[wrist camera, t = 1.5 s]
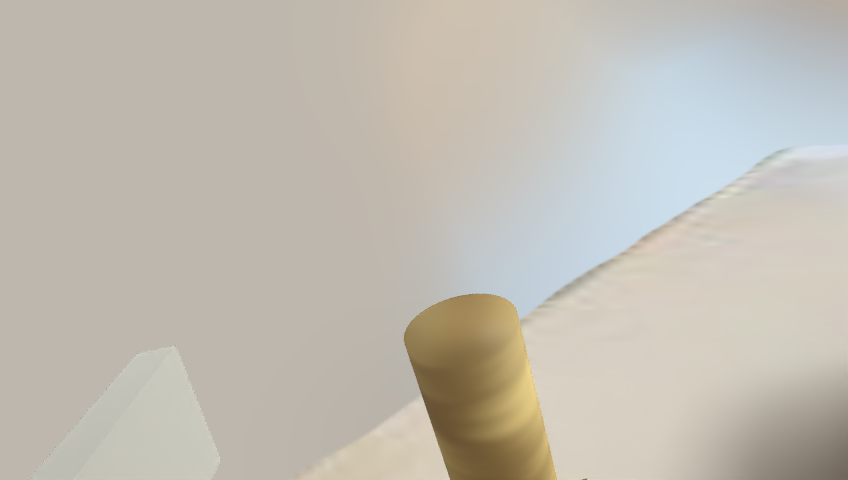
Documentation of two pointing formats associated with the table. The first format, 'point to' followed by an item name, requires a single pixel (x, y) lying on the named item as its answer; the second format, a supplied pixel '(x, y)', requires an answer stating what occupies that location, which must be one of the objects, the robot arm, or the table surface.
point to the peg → (479, 389)
